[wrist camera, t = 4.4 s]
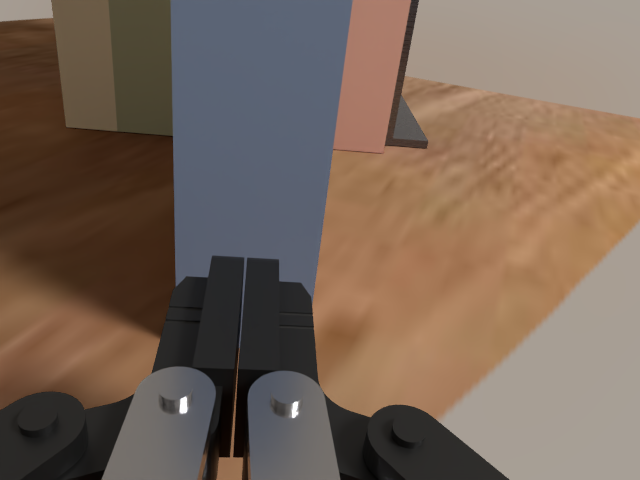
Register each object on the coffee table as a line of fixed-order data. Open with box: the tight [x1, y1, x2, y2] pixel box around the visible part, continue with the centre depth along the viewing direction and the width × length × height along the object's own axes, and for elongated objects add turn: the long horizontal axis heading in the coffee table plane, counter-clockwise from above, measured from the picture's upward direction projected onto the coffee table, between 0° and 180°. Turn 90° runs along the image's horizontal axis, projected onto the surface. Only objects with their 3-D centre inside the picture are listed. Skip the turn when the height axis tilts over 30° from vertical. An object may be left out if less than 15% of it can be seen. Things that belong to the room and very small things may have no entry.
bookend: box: [385, 0, 428, 148], centre depth 41 cm, size 3×12×11 cm, turn 3°
